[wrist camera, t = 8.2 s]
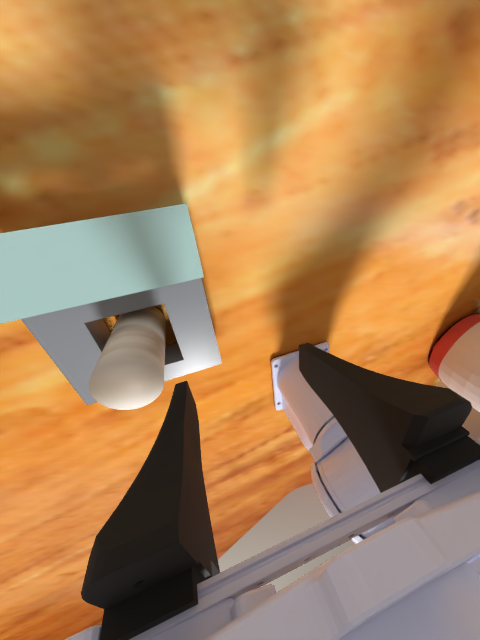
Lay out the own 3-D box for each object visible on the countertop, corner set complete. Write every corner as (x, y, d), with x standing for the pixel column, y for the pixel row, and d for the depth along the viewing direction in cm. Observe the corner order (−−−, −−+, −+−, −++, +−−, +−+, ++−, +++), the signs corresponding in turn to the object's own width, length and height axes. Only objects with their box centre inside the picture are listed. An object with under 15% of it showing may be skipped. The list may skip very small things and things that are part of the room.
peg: (170, 336, 21) (170, 398, 14) (127, 346, 20) (104, 417, 13) (159, 299, 19) (153, 350, 12) (110, 308, 18) (75, 368, 11)
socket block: (216, 346, 23) (229, 385, 18) (97, 380, 21) (73, 437, 15) (181, 205, 16) (186, 203, 11) (-1, 234, 14) (-101, 249, 9)
